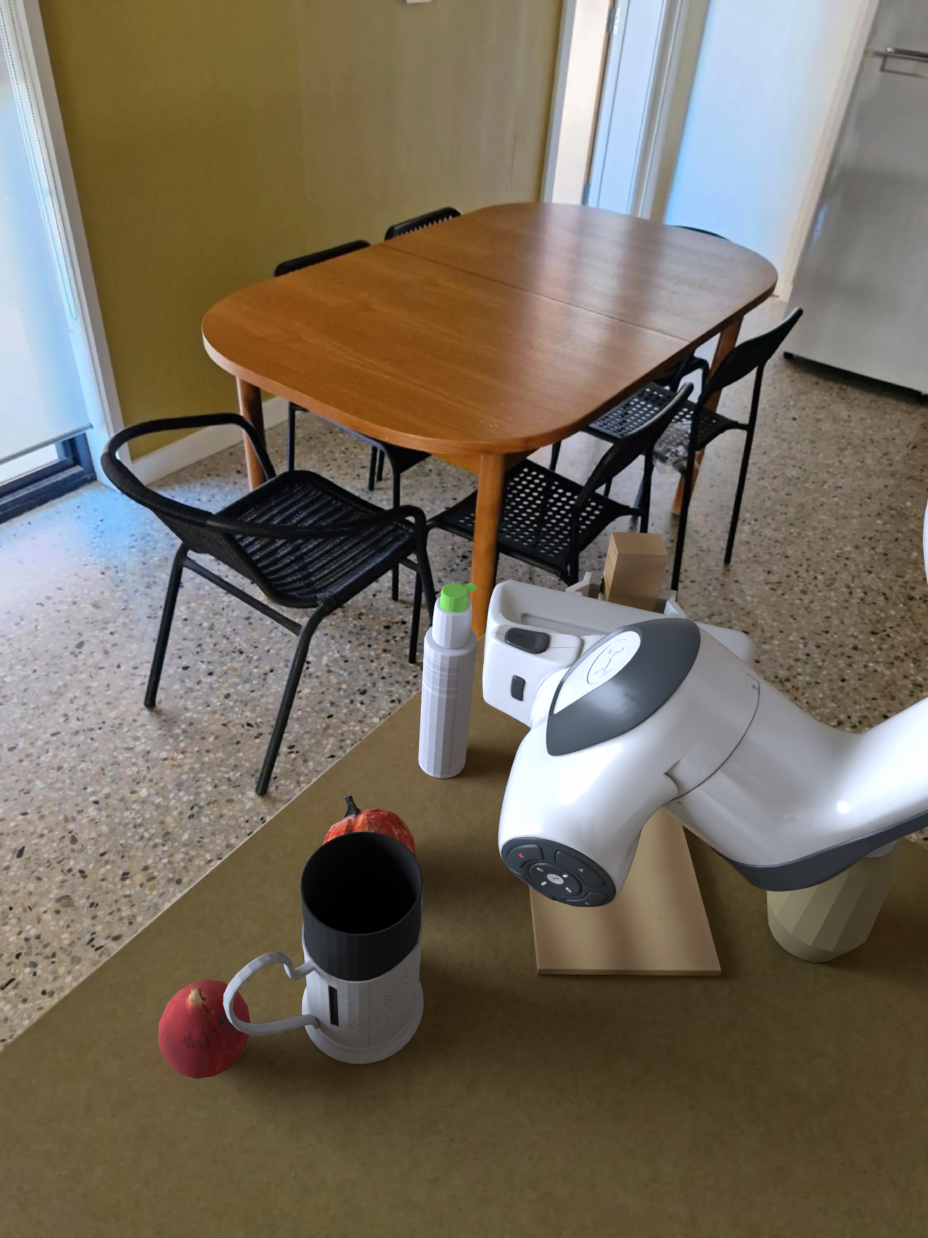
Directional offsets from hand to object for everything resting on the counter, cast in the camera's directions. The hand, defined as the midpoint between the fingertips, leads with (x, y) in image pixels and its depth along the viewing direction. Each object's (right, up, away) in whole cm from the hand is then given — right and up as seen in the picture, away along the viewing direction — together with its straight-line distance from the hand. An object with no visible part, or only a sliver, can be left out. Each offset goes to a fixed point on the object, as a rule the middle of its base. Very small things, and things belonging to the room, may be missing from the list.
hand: (629, 587), depth 73 cm
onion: (-31, -33, -12) cm, 47 cm away
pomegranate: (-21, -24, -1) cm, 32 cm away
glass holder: (-23, -32, -10) cm, 40 cm away
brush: (-1, -5, +3) cm, 6 cm away
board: (-1, -23, +2) cm, 23 cm away
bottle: (-16, -16, +10) cm, 24 cm away
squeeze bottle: (+14, -28, -2) cm, 31 cm away
